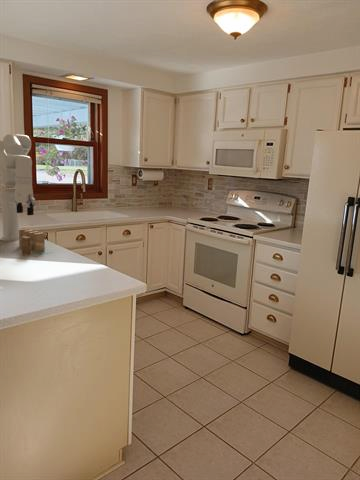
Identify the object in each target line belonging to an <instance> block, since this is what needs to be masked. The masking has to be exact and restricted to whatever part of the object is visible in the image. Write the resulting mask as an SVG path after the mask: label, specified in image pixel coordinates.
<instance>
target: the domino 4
mask: <svg viewBox="0 0 360 480" xmlns="http://www.w3.org/2000/svg"><path fill="white" fill-rule="evenodd" d="M45 242H46V241H45V232H39V233H35V234H34V250H35V252H40V251H45V250H46V248H45V247H46V246H45Z"/></svg>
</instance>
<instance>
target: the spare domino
mask: <svg viewBox="0 0 360 480" xmlns="http://www.w3.org/2000/svg"><path fill="white" fill-rule="evenodd" d="M21 241H22V249H21V255H24V256H31V255H32V254H31V253H32V252H31V247H30V237H27V236H21Z"/></svg>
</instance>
